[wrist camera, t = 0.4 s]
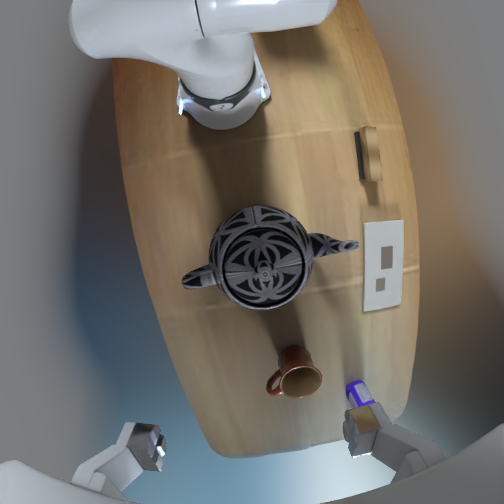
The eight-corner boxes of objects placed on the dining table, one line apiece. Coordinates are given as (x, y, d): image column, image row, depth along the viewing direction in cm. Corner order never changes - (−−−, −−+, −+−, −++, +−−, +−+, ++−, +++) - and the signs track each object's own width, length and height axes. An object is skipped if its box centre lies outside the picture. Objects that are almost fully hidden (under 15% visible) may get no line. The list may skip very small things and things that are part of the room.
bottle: (365, 393, 64) (389, 435, 47) (346, 401, 64) (367, 445, 47) (362, 375, 63) (388, 418, 46) (343, 384, 63) (364, 429, 46)
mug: (301, 333, 59) (311, 358, 49) (317, 359, 61) (328, 385, 51) (255, 358, 60) (257, 386, 50) (274, 382, 62) (278, 410, 52)
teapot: (344, 276, 57) (373, 302, 42) (204, 311, 57) (193, 348, 43) (327, 187, 53) (356, 186, 38) (178, 224, 54) (154, 236, 39)
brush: (353, 130, 50) (361, 126, 46) (370, 131, 50) (379, 127, 46) (359, 181, 53) (368, 181, 49) (376, 181, 53) (385, 180, 49)
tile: (362, 222, 54) (364, 222, 53) (401, 219, 54) (403, 219, 53) (362, 310, 59) (363, 312, 57) (398, 303, 59) (400, 304, 58)
